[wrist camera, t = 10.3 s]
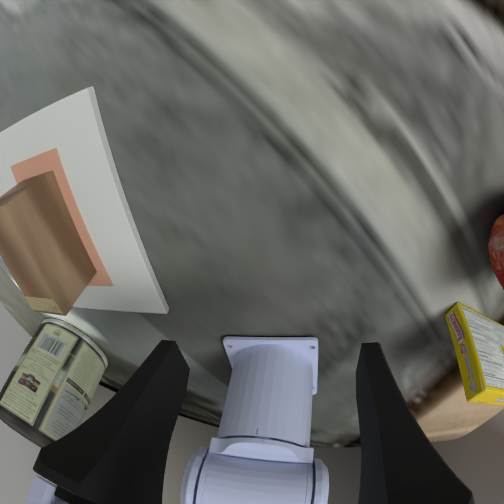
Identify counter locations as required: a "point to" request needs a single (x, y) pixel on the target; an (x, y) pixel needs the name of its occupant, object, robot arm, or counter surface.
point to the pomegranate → (497, 249)
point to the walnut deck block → (43, 245)
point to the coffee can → (52, 383)
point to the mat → (86, 198)
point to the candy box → (478, 354)
